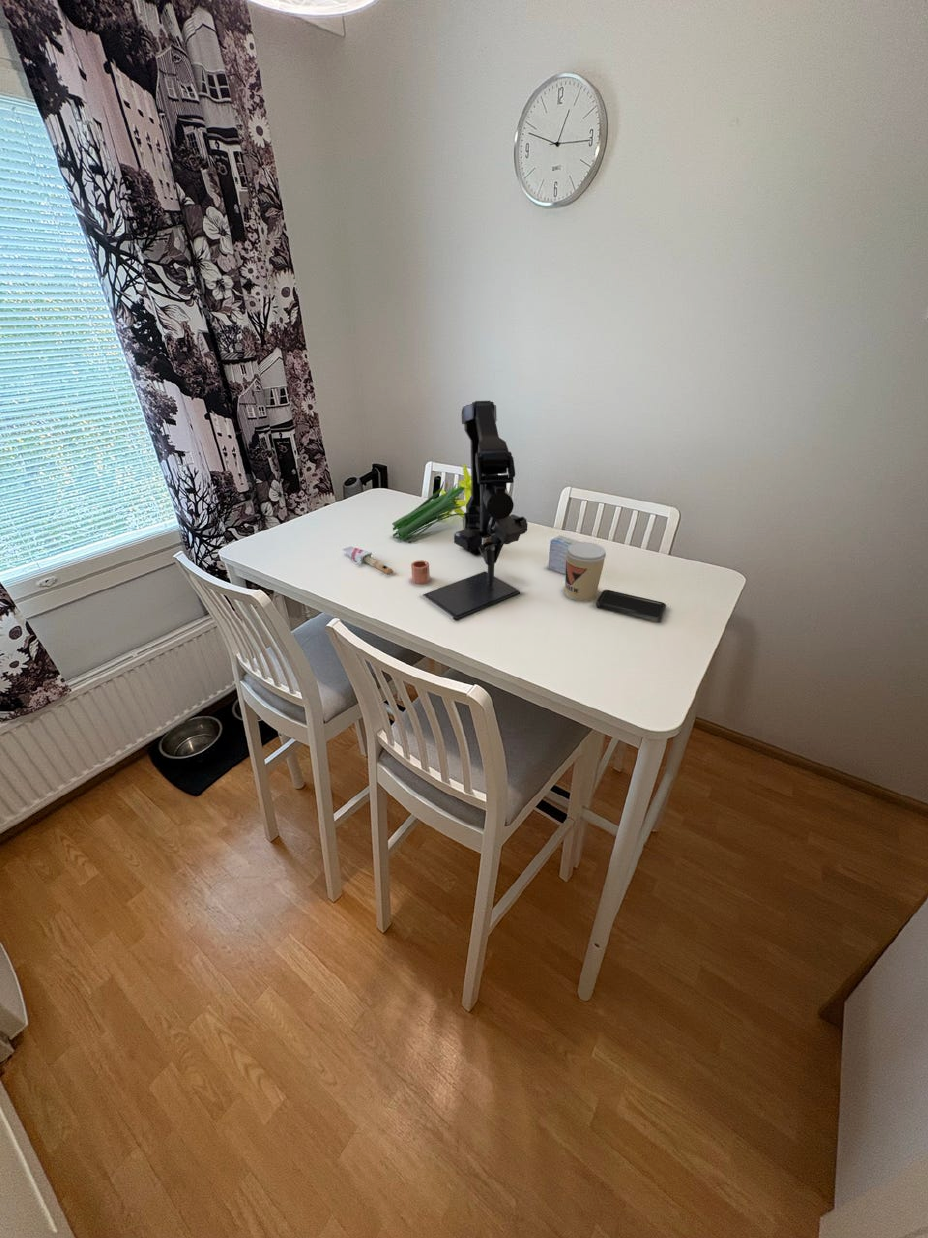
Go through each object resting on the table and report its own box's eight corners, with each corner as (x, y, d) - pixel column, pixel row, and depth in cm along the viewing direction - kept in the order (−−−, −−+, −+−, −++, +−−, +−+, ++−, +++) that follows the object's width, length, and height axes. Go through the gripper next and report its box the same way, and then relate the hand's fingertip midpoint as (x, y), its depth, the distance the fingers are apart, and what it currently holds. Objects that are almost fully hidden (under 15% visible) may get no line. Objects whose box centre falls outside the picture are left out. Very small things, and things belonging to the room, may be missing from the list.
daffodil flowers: (381, 532, 158) (461, 482, 171) (409, 564, 156) (489, 511, 168) (381, 500, 143) (469, 448, 156) (412, 536, 140) (500, 480, 153)
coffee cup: (554, 588, 125) (558, 545, 118) (584, 581, 128) (591, 538, 121) (575, 606, 117) (581, 561, 111) (607, 598, 121) (614, 553, 114)
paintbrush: (351, 541, 143) (395, 565, 131) (352, 549, 144) (395, 574, 133) (340, 545, 140) (383, 570, 129) (341, 553, 142) (384, 579, 131)
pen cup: (423, 575, 131) (422, 558, 128) (433, 582, 128) (432, 564, 125) (409, 580, 129) (407, 563, 126) (418, 587, 126) (417, 570, 123)
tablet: (485, 573, 132) (485, 570, 131) (520, 593, 123) (520, 590, 122) (423, 596, 122) (422, 593, 121) (456, 620, 112) (456, 617, 112)
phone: (604, 588, 122) (666, 603, 116) (603, 592, 122) (665, 607, 116) (595, 603, 116) (661, 619, 110) (594, 607, 117) (660, 623, 111)
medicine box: (581, 572, 132) (585, 542, 127) (572, 578, 129) (575, 547, 125) (556, 563, 137) (559, 534, 132) (547, 568, 134) (550, 539, 129)
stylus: (490, 582, 126) (491, 545, 120) (495, 585, 125) (496, 547, 119) (485, 584, 125) (486, 546, 119) (490, 587, 124) (491, 549, 118)
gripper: (483, 522, 103) (482, 587, 111) (546, 503, 112) (540, 564, 121) (451, 508, 110) (453, 569, 119) (513, 491, 120) (510, 549, 128)
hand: (490, 563), depth 121 cm, fingers closed on stylus, 1 cm apart
